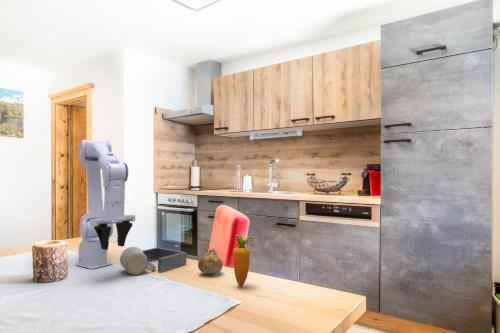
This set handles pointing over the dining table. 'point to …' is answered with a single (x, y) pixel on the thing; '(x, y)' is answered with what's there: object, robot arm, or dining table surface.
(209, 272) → the onion
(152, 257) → the grey u-shaped piece
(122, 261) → the ceramic mug
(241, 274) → the carrot
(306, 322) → the dining table surface
